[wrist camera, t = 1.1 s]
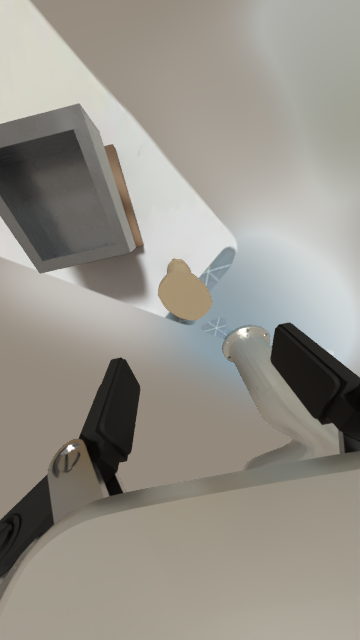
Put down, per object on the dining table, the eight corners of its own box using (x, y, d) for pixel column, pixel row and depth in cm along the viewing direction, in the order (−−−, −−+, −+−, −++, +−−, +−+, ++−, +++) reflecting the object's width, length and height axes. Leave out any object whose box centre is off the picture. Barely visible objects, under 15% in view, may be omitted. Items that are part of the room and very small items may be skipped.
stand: (143, 244, 28) (138, 249, 23) (78, 259, 28) (59, 267, 23) (115, 148, 21) (100, 126, 16) (31, 169, 22) (-9, 153, 17)
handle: (181, 285, 32) (191, 326, 20) (155, 265, 30) (149, 297, 17) (197, 267, 31) (220, 299, 18) (171, 244, 28) (178, 262, 15)
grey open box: (136, 247, 22) (130, 252, 19) (60, 264, 23) (39, 273, 19) (99, 131, 16) (79, 103, 13) (-4, 157, 17) (-54, 137, 13)
